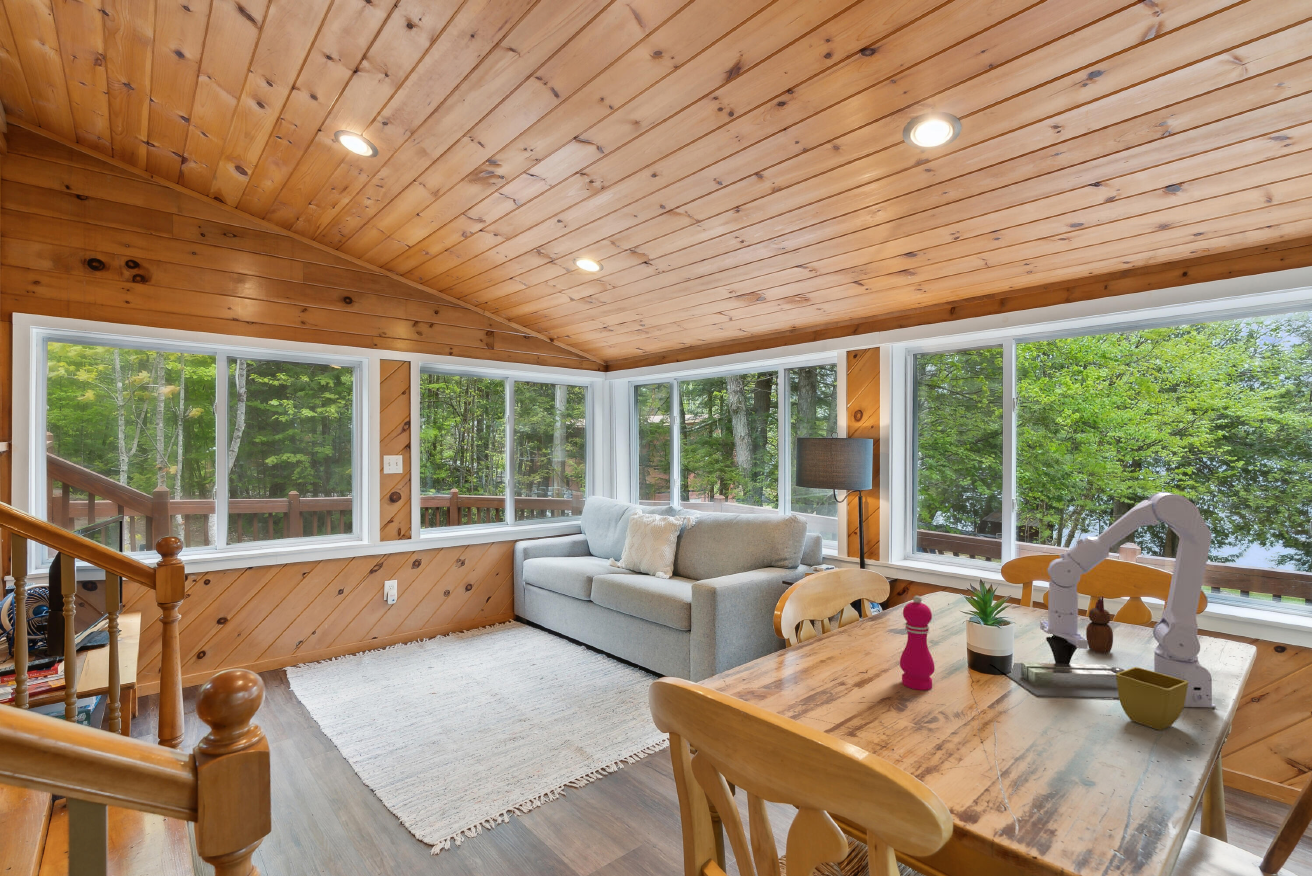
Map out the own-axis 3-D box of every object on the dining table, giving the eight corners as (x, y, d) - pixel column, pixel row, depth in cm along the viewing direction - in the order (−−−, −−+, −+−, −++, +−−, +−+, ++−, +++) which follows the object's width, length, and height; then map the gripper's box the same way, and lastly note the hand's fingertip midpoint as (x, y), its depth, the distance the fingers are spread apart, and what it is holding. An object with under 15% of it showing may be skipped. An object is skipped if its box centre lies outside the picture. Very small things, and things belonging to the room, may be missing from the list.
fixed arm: (1109, 683, 138) (1109, 670, 138) (1117, 688, 135) (1117, 674, 135) (1028, 681, 139) (1028, 668, 139) (1034, 686, 136) (1034, 672, 136)
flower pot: (1189, 727, 117) (1189, 680, 117) (1169, 738, 113) (1169, 689, 113) (1135, 710, 125) (1135, 666, 125) (1114, 719, 120) (1114, 673, 121)
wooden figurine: (1113, 657, 157) (1113, 598, 157) (1085, 652, 160) (1085, 595, 161) (1113, 650, 162) (1113, 594, 163) (1086, 646, 166) (1086, 590, 166)
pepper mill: (938, 692, 133) (938, 600, 133) (903, 689, 134) (903, 598, 134) (930, 680, 140) (930, 592, 140) (896, 677, 141) (897, 591, 141)
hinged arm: (1114, 678, 141) (1114, 664, 141) (1127, 684, 137) (1127, 670, 137) (1021, 675, 141) (1021, 662, 142) (1030, 682, 138) (1030, 668, 138)
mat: (1166, 700, 130) (1166, 698, 130) (1036, 696, 131) (1036, 695, 131) (1101, 666, 150) (1101, 665, 150) (989, 663, 151) (989, 662, 151)
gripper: (1027, 602, 149) (1027, 658, 149) (1064, 619, 135) (1064, 681, 135) (1057, 603, 149) (1056, 659, 149) (1097, 620, 135) (1096, 682, 134)
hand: (1062, 669), depth 142 cm, fingers closed
